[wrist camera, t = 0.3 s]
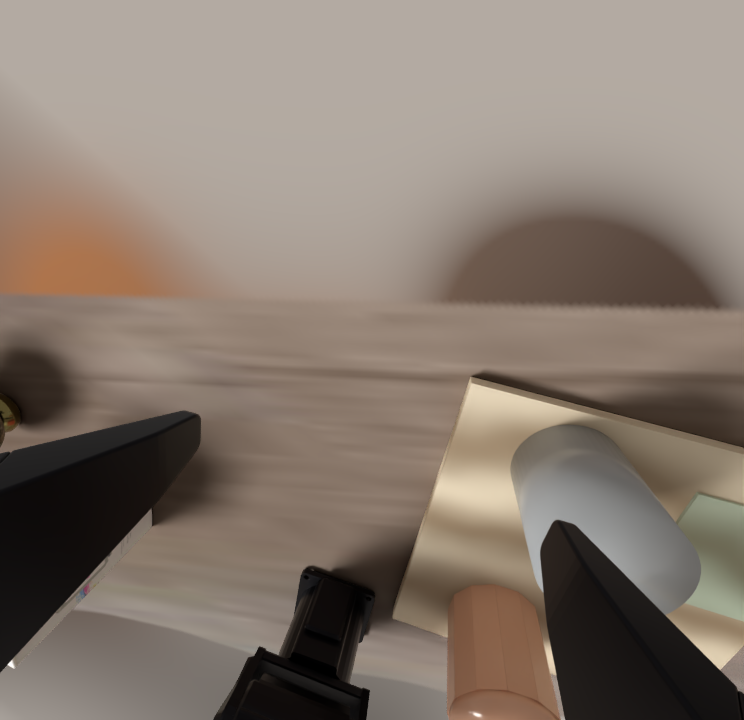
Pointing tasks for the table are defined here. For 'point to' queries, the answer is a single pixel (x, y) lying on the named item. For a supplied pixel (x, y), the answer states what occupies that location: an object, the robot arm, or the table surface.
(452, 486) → the birch board
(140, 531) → the ink cartridge box
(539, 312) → the table surface
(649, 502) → the grey rounded piece
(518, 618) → the peach domed cylinder
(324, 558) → the table surface
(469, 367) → the table surface
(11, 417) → the cup
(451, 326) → the table surface
